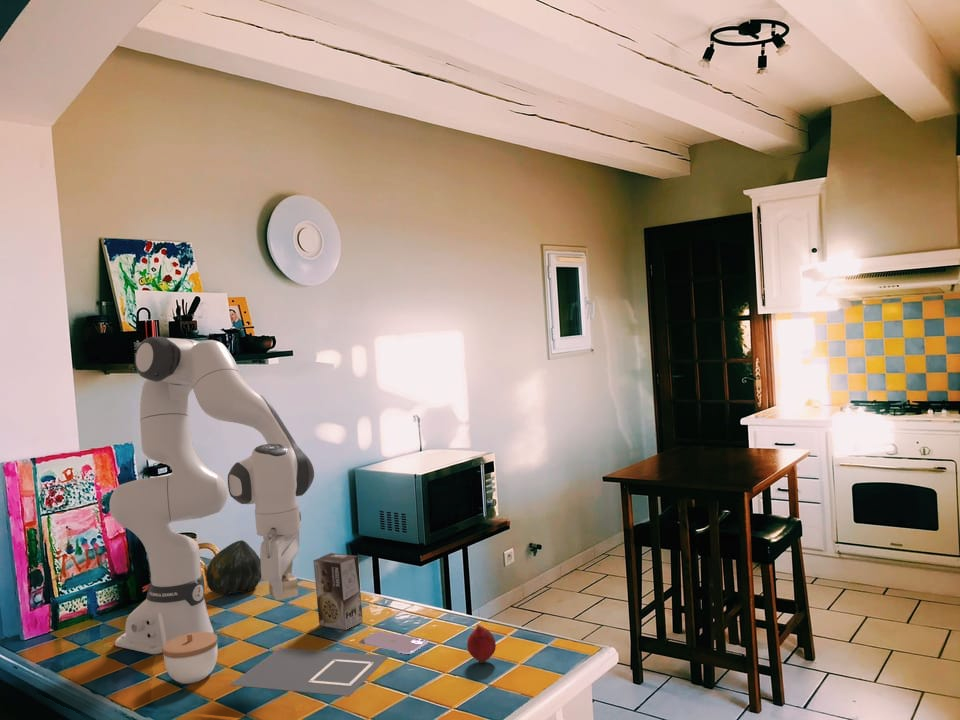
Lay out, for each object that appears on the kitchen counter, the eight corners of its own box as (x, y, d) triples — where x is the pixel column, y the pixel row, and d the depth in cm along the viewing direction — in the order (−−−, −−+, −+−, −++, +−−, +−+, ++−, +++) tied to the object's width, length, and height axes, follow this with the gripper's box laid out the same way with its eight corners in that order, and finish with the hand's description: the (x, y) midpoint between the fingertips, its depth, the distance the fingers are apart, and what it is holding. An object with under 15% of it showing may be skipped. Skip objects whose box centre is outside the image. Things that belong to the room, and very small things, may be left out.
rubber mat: (229, 686, 151) (229, 684, 151) (280, 649, 168) (280, 647, 168) (349, 698, 142) (349, 695, 142) (389, 657, 160) (389, 655, 160)
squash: (192, 574, 212) (209, 538, 206) (239, 561, 224) (256, 527, 217) (213, 614, 206) (232, 579, 199) (261, 599, 217) (279, 565, 210)
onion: (500, 657, 156) (497, 619, 156) (491, 669, 150) (488, 630, 150) (474, 655, 158) (471, 617, 157) (464, 667, 152) (461, 628, 152)
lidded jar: (189, 694, 149) (185, 648, 149) (154, 685, 154) (150, 640, 154) (231, 671, 158) (227, 627, 158) (196, 663, 164) (193, 621, 163)
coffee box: (364, 621, 181) (359, 555, 181) (345, 631, 176) (340, 563, 176) (336, 616, 186) (331, 551, 186) (317, 625, 181) (312, 559, 180)
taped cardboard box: (269, 593, 158) (268, 576, 158) (290, 588, 160) (289, 571, 160) (276, 600, 153) (275, 582, 153) (298, 595, 155) (296, 577, 155)
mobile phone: (376, 629, 174) (429, 638, 166) (376, 633, 174) (430, 643, 166) (355, 642, 168) (409, 652, 160) (355, 646, 168) (410, 657, 160)
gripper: (282, 534, 146) (288, 604, 146) (302, 510, 166) (307, 572, 167) (249, 537, 146) (255, 607, 146) (273, 513, 166) (278, 574, 166)
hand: (283, 588), depth 156 cm, fingers closed on taped cardboard box, 7 cm apart
